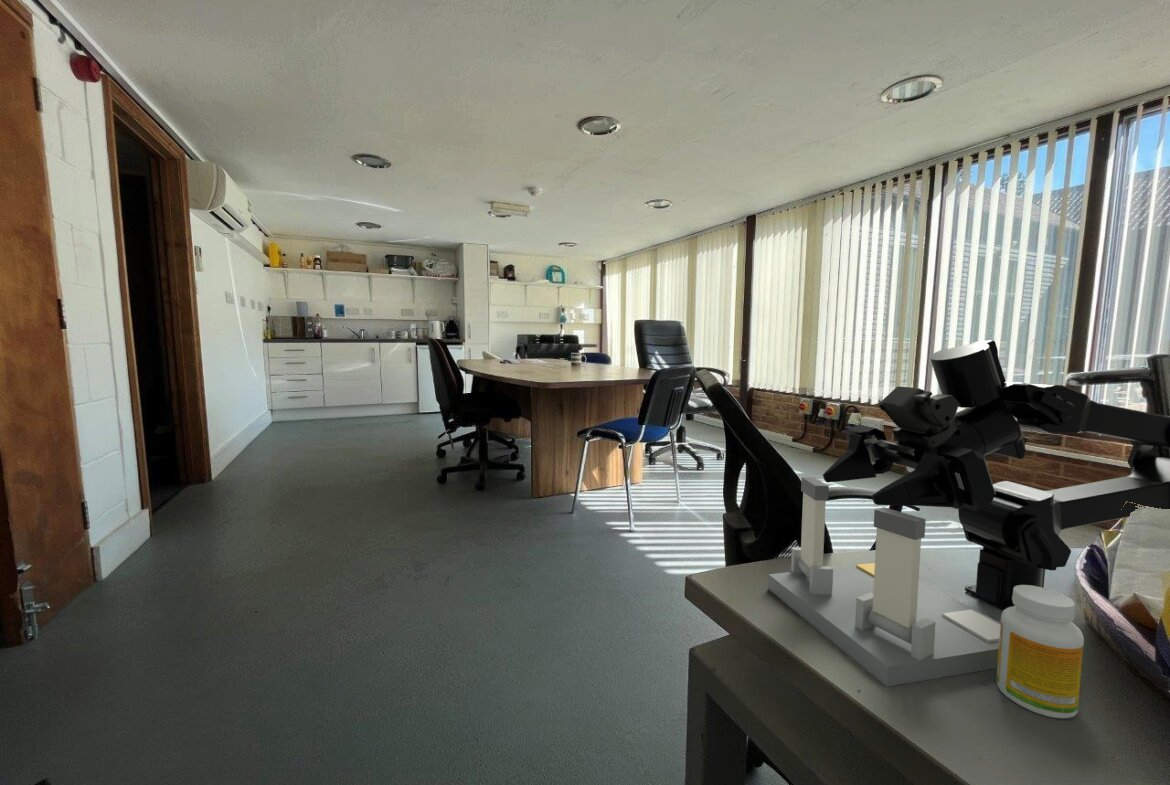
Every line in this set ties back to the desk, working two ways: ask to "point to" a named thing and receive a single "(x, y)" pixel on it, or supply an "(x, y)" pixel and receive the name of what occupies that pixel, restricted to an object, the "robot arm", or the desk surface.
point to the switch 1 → (812, 523)
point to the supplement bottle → (1040, 652)
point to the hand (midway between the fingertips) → (847, 488)
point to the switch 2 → (896, 571)
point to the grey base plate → (840, 612)
